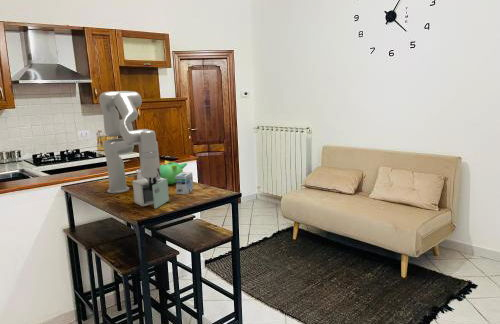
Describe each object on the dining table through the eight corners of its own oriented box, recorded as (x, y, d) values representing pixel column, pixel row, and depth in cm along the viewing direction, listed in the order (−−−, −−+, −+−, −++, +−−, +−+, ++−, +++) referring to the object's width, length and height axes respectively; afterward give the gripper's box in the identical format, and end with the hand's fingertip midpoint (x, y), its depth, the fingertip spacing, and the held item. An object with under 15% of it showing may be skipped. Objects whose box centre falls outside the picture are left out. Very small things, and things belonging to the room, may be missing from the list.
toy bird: (166, 179, 251) (164, 158, 248) (189, 180, 246) (187, 158, 243) (152, 186, 234) (150, 163, 231) (177, 187, 229) (175, 164, 226)
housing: (134, 202, 202) (132, 180, 200) (158, 196, 211) (156, 176, 208) (142, 206, 194) (140, 183, 192) (166, 200, 203) (165, 179, 201)
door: (154, 208, 189) (152, 185, 187) (167, 200, 203) (165, 178, 200) (157, 208, 189) (155, 185, 187) (170, 200, 202) (168, 178, 200)
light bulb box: (187, 194, 213) (186, 176, 211) (176, 194, 215) (174, 176, 213) (193, 189, 224) (192, 171, 222) (183, 189, 225) (181, 171, 223)
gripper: (133, 155, 190) (137, 190, 194) (154, 157, 183) (158, 193, 186) (145, 153, 197) (148, 186, 200) (165, 154, 189) (168, 189, 192)
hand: (153, 190), depth 193 cm, fingers closed
